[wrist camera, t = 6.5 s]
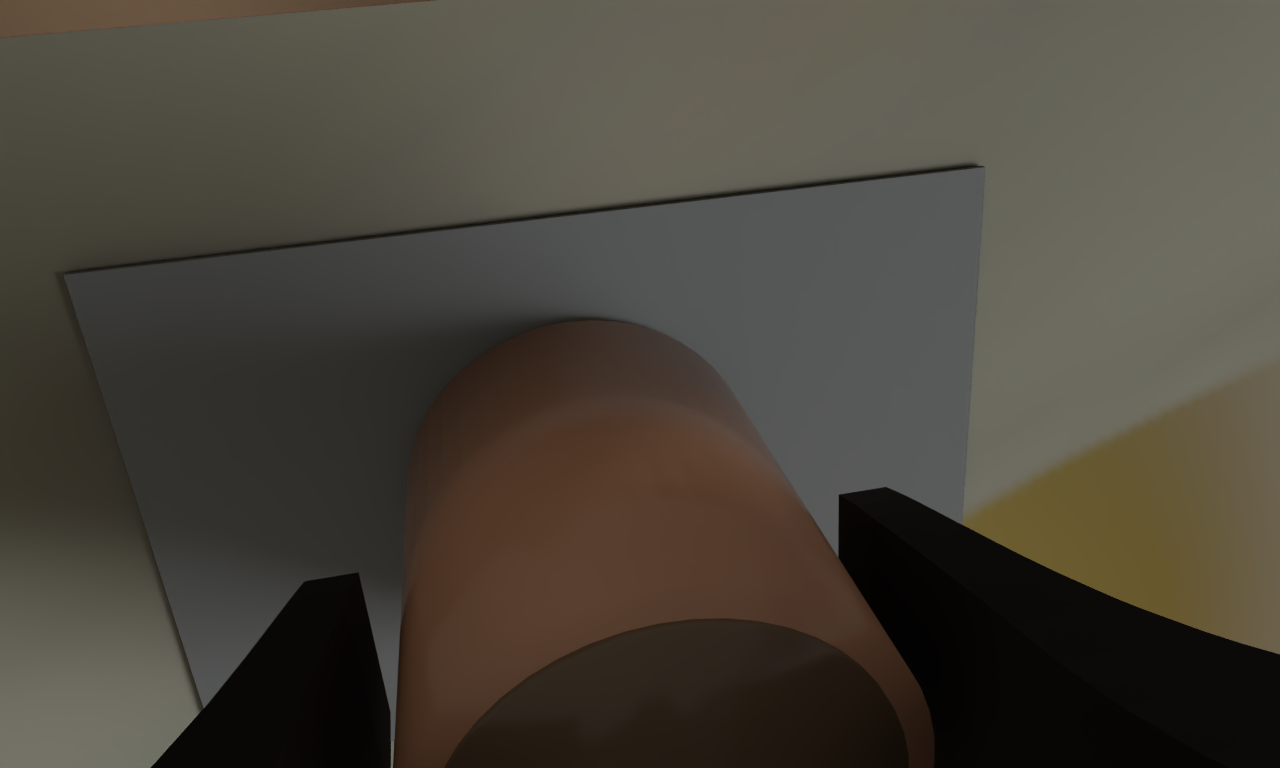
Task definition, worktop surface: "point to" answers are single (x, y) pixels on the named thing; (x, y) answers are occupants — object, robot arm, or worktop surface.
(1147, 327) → the worktop surface
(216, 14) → the wooden square frame
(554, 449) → the seedling pot
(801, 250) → the rubber mat
